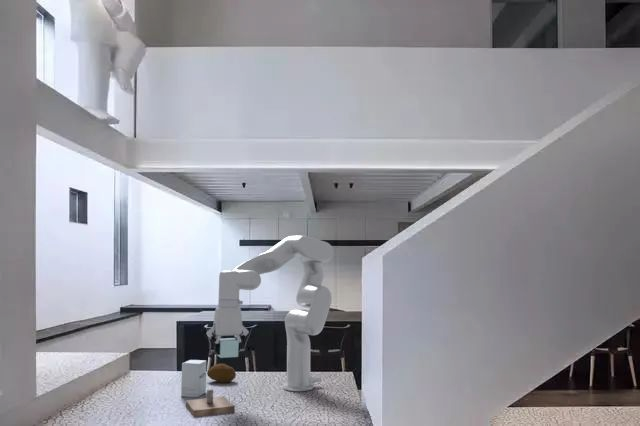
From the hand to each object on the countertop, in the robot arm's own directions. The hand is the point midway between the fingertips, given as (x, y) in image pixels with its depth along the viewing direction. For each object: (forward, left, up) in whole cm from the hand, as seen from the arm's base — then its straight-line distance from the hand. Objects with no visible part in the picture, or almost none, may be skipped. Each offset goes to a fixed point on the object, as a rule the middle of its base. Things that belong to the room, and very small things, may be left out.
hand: (227, 353), depth 201 cm
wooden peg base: (+7, +4, -18) cm, 20 cm away
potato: (-7, -34, -18) cm, 39 cm away
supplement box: (+8, -18, -18) cm, 27 cm away
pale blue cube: (0, 0, -1) cm, 1 cm away
